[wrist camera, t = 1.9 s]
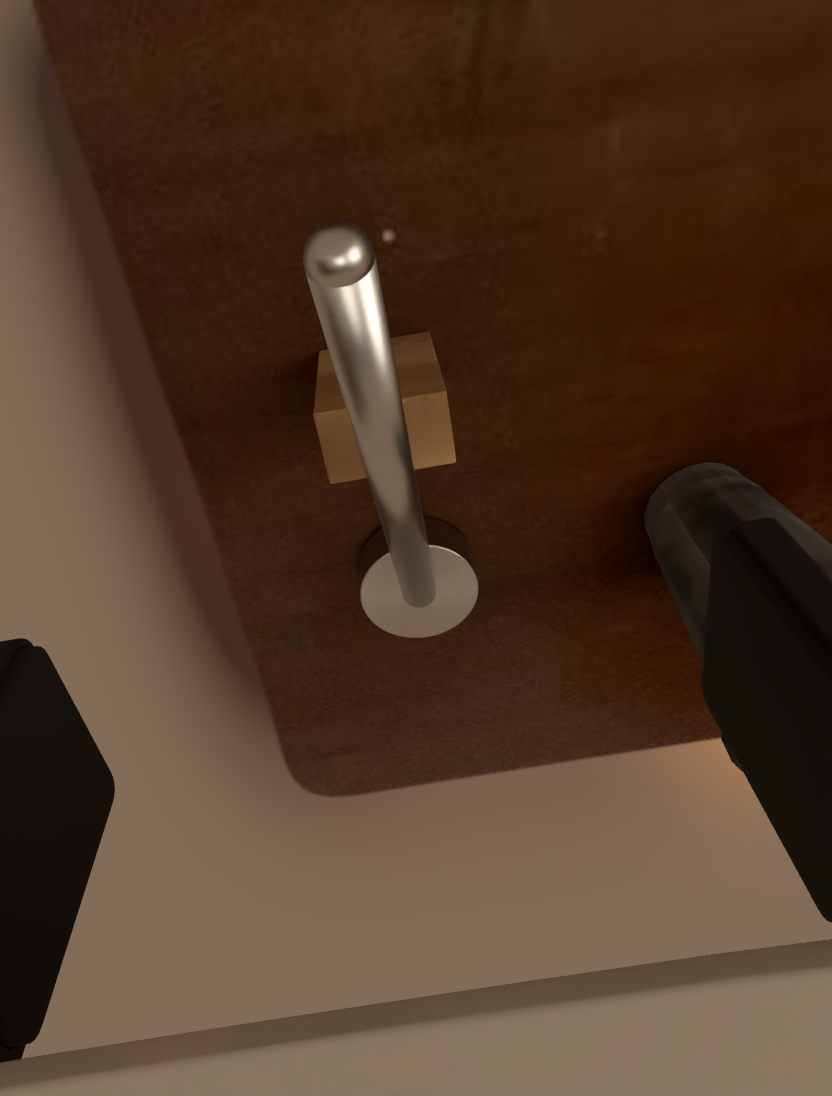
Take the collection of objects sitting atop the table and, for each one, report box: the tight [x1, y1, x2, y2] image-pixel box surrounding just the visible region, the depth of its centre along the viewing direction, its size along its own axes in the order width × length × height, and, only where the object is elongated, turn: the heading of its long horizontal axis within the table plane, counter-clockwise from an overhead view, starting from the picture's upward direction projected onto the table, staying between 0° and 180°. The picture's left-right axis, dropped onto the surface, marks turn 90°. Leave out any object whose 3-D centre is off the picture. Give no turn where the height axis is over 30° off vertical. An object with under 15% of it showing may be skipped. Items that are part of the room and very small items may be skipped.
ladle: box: [303, 220, 479, 638], centre depth 24 cm, size 19×5×12 cm, turn 9°
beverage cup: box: [644, 462, 832, 771], centre depth 24 cm, size 7×7×20 cm
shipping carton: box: [313, 332, 456, 484], centre depth 26 cm, size 2×4×6 cm, turn 99°
